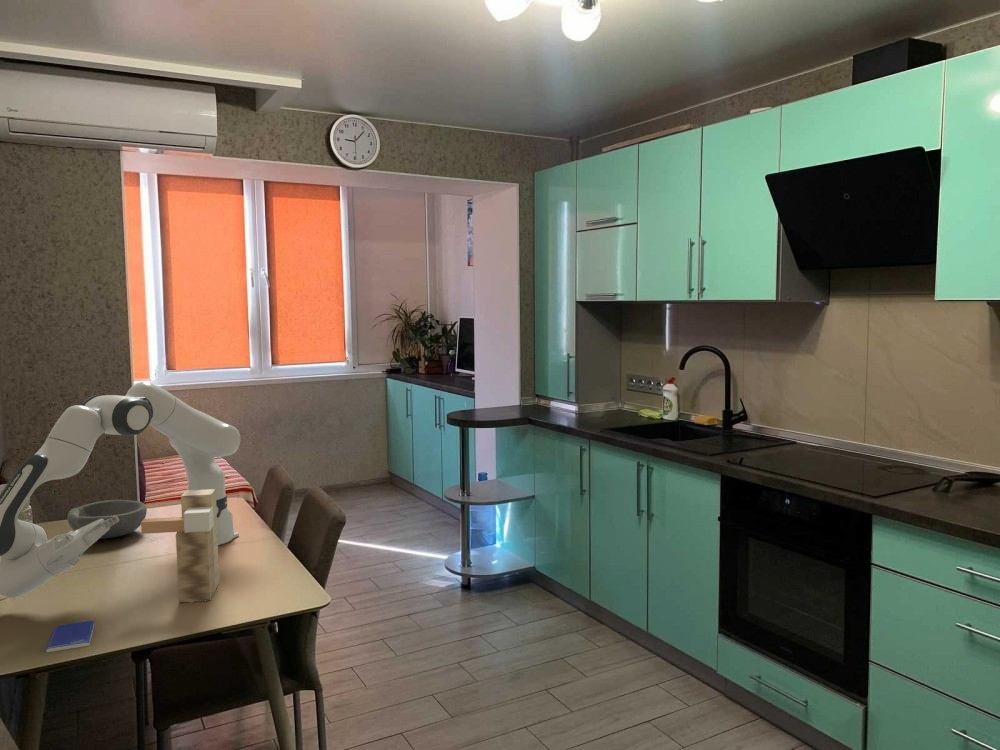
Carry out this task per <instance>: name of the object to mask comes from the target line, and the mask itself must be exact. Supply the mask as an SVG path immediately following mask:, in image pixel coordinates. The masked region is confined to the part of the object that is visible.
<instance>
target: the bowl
mask: <svg viewBox="0 0 1000 750" xmlns="http://www.w3.org/2000/svg"><path fill="white" fill-rule="evenodd" d="M147 512H148V510H147V505H146V504H145V503H144V502H142V501H139V500H138V501H137V500H131V499H130V500H129V499H109V500H102V501H101V500H100V501H95V502H92V503H87V504H83V505H81V506H78V507H74V508H71V509H70V510H69V511H68V514H67V519H66V520H67V522H68V525H69V526H70V528H71V529H72V531H73V532H74V531H76V530H78V529H80V528H82V527H84V526H86V525H88V524H90V523H92V522H94V521H97V520H99V519H104V520H108V519H110V518H112V517H114V516H117V517H118V518H119V522H118V523H116V524H114V525H113V526H111V527H109V528H110V529H109V530H108V531H107V532H106V533H105V534H104V535H102V536H101V537H100V538H99V539H110V538H112V539H113V538H118V537H122V536H127V535H128V534H129V535H130V534H131V533H133V532H134V531H136V530H137V529H138V528H139V527H141V522H142V521H143V520H144V519H146V517H147Z"/></svg>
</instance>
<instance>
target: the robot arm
mask: <svg viewBox="0 0 1000 750" xmlns="http://www.w3.org/2000/svg"><path fill="white" fill-rule="evenodd" d="M148 426H150V427H152V428H153V429H154V430H156V431H158V432H159V433H161V434H162V435H164V436H166V437H168V440H169V444H170V445H171V447H172V448H173V449H174V450H175V451H176V452H177V454H178V456H179V458H180V459H181V463H182V464H183V466H184V470H185V474H186V480H187V490H207V489H216V509H217V534H218V546H220V545H224V544H226V543H229V542H230V541H232V540H233V539H235V538H237V537H239V536H240V534H239V532H238V531H235V528H234V519H233V518H234V517H233V512H232V511H231V510H229V508H228V497H227V495H226V479H225V478H226V477H225V472H224V470H223V469H222V468H221V467H220V466H219V464H217V461H216V460H215V458H221V457H222V458H223V457H228V456H232V455H234V454H235V453H236V452H237V451H238V449H239V447H240V446H241V434H240V431H239V430H238V429H237V427H235V426H234V425H231V424H230V423H229V424H228V423H225V422H224V421H222V420H219V419H217V418H215V417H213V416H211V415H210V414H207V413H205V412H203V411H200V410H198V409H195V408H194V407H192V406H191V405H189V404H187V403H185V402H184V401H183V400H181V399H180V398H178V397H177V396H175V395H174V394H172V393H171V392H169V391H167V390H165V389H164V388H163V387H160V386H158V385H155V384H153V383H150V382H148V381H140V382H137V383H135V384H133V385H132V386H131V387H130V388H129V389H128V390H127V392H126V394H125V395H117V394H107V395H106V394H96V395H91V396H90V397H87V398H85V400H83V401H82V402H81V403H80V404H78V405H77V404H75V405H72V406H69V407H68V408H66V409H65V411H64V412H63V413H62V414H61V415H60V416H59V417H58V419H57V421H56V422H55V424H54V425H53V427H52V428H51V429H50V432H49V434H48V435H47V437H46V439H45V440H44V443H43V444H42V446H40V448H39V449H38V450H37V452H35V453H34V454H32V455H30V456H29V457H27V458H26V459H25V460H24V461H23V462H22V463H21V465H20V466H19V467H18V469H17V470H16V471H15V472H14V474H13V475H12V477H11V478H10V480H9V481H8V482H7V484H6V486H5V487H4V488H3V490H2V491H1V493H0V595H1V596H4V597H7V598H10V599H11V598H12V599H17V598H20V597H22V596H24V595H27V594H29V593H31V592H32V591H35V590H36V589H38V588H39V587H41V586H43V585H44V584H46V583H47V582H48V581H49V580H50V579H52V578H56V577H58V576H60V575H62V574H63V573H65V572H67V571H69V570H70V569H72V568H73V567H75V566H77V565H78V563H79V562H80V561H79V560H80V559H81V557H82V555H83V554H84V553H85V551H86V550H88V549H89V548H90V547H92V545H93V544H95V543H96V542H97V541H98V540H99V539H101V538H100V537H101V536H102V535H104V534H105V533H106V532H107V531H108V530H109V529H110V528H109V527H111V526H113V525H114V524H116V523H118V522H119V518H118V517H117V516H114V517H112V518H110V519H108V520H104V519H99V520H97V521H94V522H92V523H90V524H88V525H86V526H84V527H82V528H80V529H78V530H76V531H74V530H70V531H68V532H66V533H62V534H57V535H54V536H53V537H51V538H50V539H49V538H48V533H47V531H46V530H45V529H44V528H43V527H42V526H40V525H38V524H35V523H32V522H30V521H27V520H22V519H19V515H20V513H21V512H22V510H23V508H24V507H25V505H26V504H27V502H28V501H29V500H30V498H31V497H32V495H33V493H35V491H36V489H37V488H38V487H40V485H43V484H44V483H45V482H49V481H54V480H63V479H68V478H71V477H73V476H75V475H77V474H79V473H80V472H81V470H83V468H84V467H85V465H86V463H87V462H88V460H89V457H90V455H91V453H92V451H93V450H94V447H95V445H96V442H97V440H98V439H99V437H101V436H102V435H103V434H105V435H114V436H125V437H130V436H137V435H139V434H141V433H143V432H144V431H145V430H146V429H147V428H148Z"/></svg>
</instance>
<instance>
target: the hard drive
mask: <svg viewBox="0 0 1000 750" xmlns="http://www.w3.org/2000/svg"><path fill="white" fill-rule="evenodd" d="M95 624H96V623H95V620H87V621H80V622H75V623H68V624H67V623H66V624H60V625H56V626H55V627H54V628H53V630H52V635H51V636H50V638H49V642H48V645H47V647H46V653H53V652H58V651H64V650H70V649H76V648H82V647H89V646H90V644H91V641H92V637H93V632H94V629H95V628H94V627H95Z"/></svg>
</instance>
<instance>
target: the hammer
mask: <svg viewBox="0 0 1000 750" xmlns="http://www.w3.org/2000/svg"><path fill="white" fill-rule="evenodd" d="M213 526H214V519H213V507H195V508H188V509H187V510H186V511H185V513H184V517H182V516H177V517H176V516H174V517H160V518H159V517H156V518H155V517H154V518H145V519H144V520H143V521H142V522H141V525H140V528H141V529H140V531H141V535H144V534H145V535H146V534H159V533H160V534H164V533H166V534H167V533H177V532H185V533H191V532H209V531H210V530H211V529H212V527H213Z"/></svg>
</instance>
